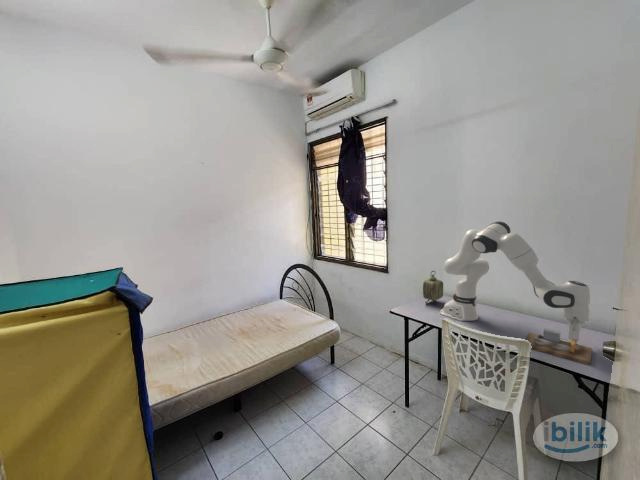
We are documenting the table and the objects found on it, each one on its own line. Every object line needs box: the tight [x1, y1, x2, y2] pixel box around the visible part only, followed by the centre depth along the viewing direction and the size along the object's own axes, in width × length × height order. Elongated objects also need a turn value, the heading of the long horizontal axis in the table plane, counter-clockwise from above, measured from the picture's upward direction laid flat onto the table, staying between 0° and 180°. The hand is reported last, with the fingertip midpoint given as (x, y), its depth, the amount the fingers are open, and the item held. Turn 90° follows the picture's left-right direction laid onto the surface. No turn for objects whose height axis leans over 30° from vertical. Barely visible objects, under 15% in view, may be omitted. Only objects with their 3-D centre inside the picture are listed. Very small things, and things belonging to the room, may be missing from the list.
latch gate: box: [570, 339, 576, 353], centre depth 126 cm, size 1×6×4 cm, turn 133°
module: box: [542, 328, 561, 344], centre depth 132 cm, size 6×3×7 cm, turn 43°
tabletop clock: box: [422, 270, 444, 305], centre depth 198 cm, size 14×9×25 cm, turn 130°
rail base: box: [525, 332, 593, 366], centre depth 131 cm, size 24×16×4 cm, turn 43°
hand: (574, 341), depth 129 cm, fingers closed
